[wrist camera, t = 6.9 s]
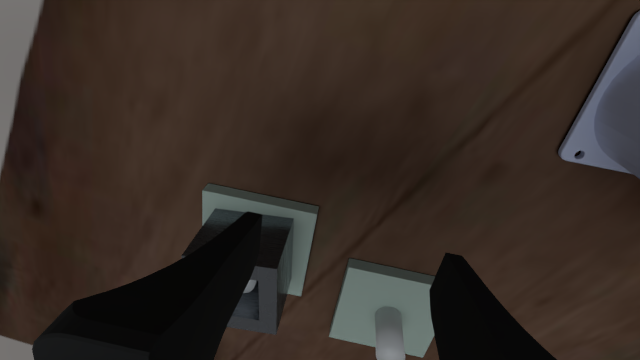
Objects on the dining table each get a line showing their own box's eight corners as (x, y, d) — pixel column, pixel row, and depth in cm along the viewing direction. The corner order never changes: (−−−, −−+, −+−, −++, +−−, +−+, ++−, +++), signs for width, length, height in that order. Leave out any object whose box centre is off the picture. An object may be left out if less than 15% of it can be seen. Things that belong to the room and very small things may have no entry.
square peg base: (319, 206, 24) (309, 247, 20) (302, 286, 28) (292, 334, 24) (208, 183, 25) (177, 219, 21) (207, 266, 29) (181, 310, 25)
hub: (293, 218, 24) (276, 269, 20) (291, 278, 27) (276, 334, 22) (215, 208, 24) (181, 255, 20) (220, 268, 27) (192, 321, 23)
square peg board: (454, 280, 26) (469, 331, 22) (421, 346, 30) (429, 400, 26) (349, 258, 26) (345, 304, 22) (330, 326, 30) (324, 377, 26)
